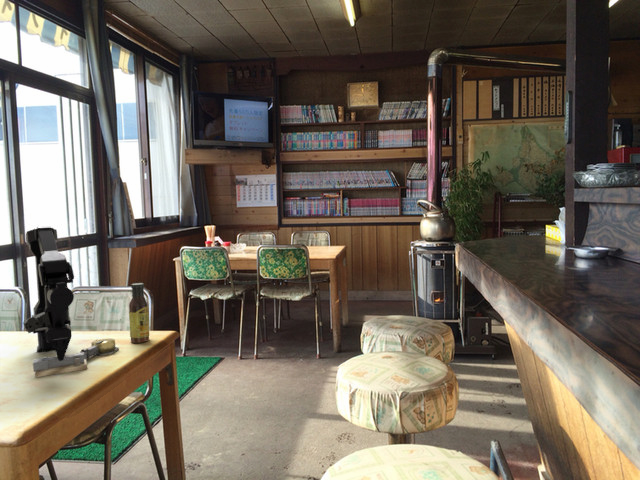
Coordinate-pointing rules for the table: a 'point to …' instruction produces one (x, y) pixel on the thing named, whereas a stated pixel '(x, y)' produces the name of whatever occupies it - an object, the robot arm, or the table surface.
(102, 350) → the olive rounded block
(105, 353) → the nut base
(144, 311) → the sauce bottle
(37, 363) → the grey bar
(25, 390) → the table surface
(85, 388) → the table surface
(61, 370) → the cradle
